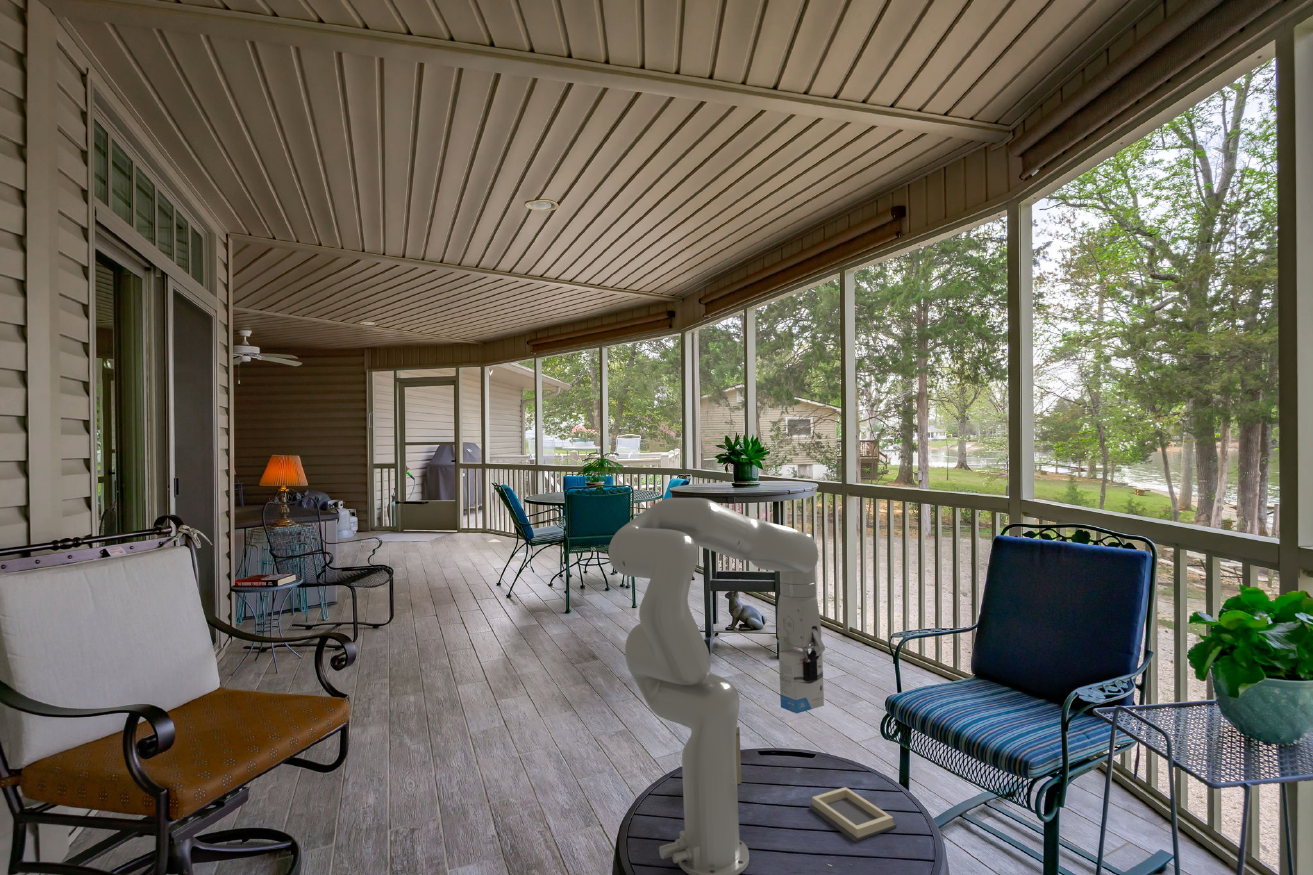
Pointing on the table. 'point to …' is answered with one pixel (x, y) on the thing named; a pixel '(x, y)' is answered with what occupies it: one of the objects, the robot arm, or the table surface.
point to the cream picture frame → (851, 814)
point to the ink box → (798, 680)
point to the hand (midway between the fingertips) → (801, 675)
